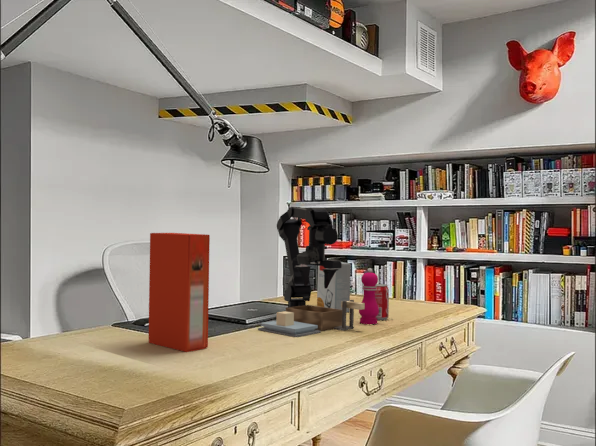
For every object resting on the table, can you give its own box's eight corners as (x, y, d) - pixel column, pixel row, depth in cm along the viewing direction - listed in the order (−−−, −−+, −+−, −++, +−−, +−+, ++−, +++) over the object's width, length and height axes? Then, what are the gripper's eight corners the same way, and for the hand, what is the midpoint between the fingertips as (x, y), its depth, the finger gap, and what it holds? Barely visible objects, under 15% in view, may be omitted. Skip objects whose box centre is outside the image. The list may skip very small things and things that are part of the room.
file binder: (184, 352, 168) (187, 234, 168) (147, 342, 180) (150, 232, 180) (207, 348, 174) (210, 234, 174) (170, 339, 186) (172, 232, 186)
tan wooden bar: (341, 307, 211) (341, 301, 211) (345, 306, 213) (345, 300, 213) (360, 309, 206) (360, 303, 206) (364, 309, 207) (364, 303, 207)
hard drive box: (316, 307, 261) (317, 260, 261) (332, 307, 264) (333, 260, 264) (333, 313, 247) (334, 263, 247) (350, 312, 250) (351, 263, 250)
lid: (260, 328, 205) (261, 310, 205) (283, 324, 213) (284, 307, 213) (294, 334, 195) (295, 316, 195) (317, 330, 203) (318, 313, 203)
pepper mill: (372, 325, 219) (373, 269, 219) (354, 323, 223) (356, 267, 223) (382, 323, 225) (383, 268, 225) (365, 320, 229) (366, 266, 229)
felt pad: (257, 329, 205) (257, 328, 205) (282, 325, 214) (282, 324, 214) (296, 337, 194) (296, 335, 194) (320, 332, 203) (320, 330, 203)
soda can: (389, 320, 231) (390, 286, 231) (370, 320, 231) (371, 285, 231) (387, 317, 238) (388, 284, 238) (368, 317, 238) (369, 283, 238)
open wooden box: (285, 325, 216) (286, 296, 216) (309, 321, 226) (310, 294, 226) (330, 333, 203) (331, 303, 203) (354, 328, 212) (354, 299, 212)
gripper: (282, 242, 220) (281, 286, 220) (322, 244, 208) (321, 291, 208) (302, 242, 228) (301, 284, 228) (343, 244, 216) (341, 289, 216)
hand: (315, 287), depth 220 cm, fingers open, 9 cm apart
